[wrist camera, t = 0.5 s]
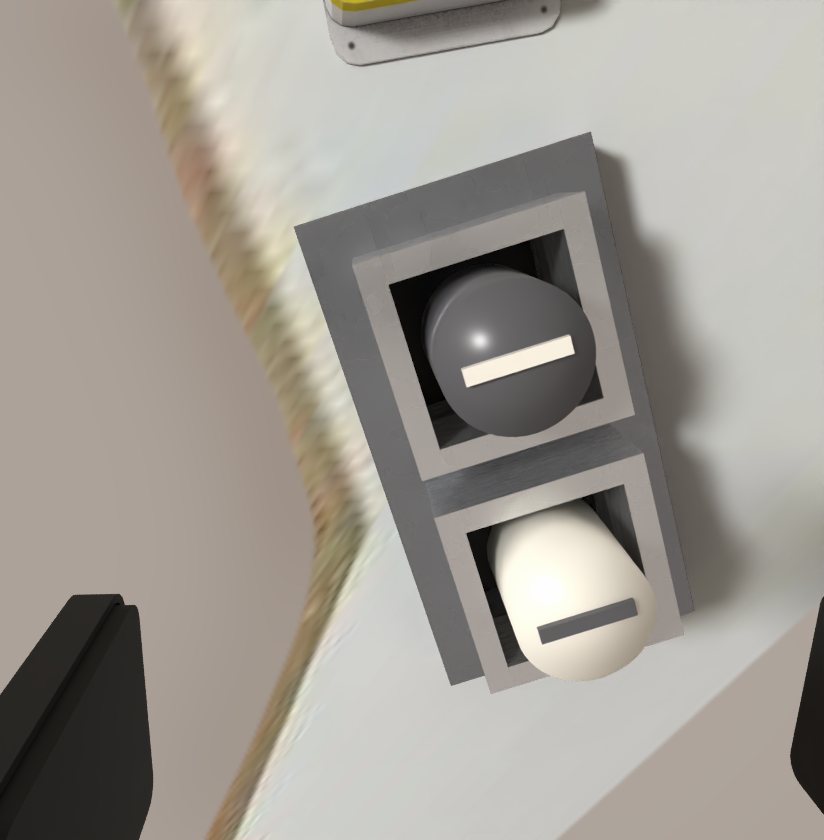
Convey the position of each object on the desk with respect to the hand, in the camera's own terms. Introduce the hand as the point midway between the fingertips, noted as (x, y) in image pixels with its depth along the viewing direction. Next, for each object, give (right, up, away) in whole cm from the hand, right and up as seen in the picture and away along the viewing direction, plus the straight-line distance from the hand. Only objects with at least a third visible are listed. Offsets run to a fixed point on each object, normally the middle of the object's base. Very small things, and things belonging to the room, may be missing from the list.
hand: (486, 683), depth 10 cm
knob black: (+2, +7, +19) cm, 21 cm away
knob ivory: (+5, -2, +22) cm, 23 cm away
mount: (+3, +4, +24) cm, 24 cm away
